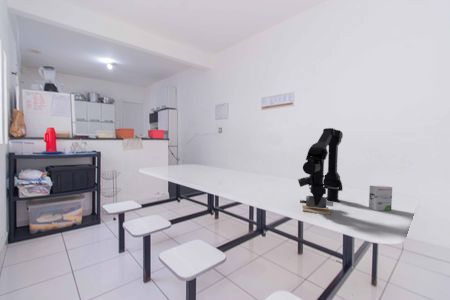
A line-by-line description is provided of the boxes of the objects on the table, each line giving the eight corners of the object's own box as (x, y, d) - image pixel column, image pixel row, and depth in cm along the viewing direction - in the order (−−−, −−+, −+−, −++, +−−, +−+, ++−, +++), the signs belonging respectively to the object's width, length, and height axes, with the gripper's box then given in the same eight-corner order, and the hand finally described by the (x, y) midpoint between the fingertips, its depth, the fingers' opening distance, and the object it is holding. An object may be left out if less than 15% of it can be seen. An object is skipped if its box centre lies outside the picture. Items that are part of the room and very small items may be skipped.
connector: (299, 203, 108) (300, 194, 108) (331, 206, 103) (332, 197, 103) (300, 205, 104) (300, 196, 104) (333, 209, 99) (333, 199, 99)
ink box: (383, 207, 110) (384, 184, 110) (392, 210, 105) (393, 186, 105) (368, 207, 109) (369, 184, 109) (375, 210, 104) (376, 186, 104)
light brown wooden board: (302, 205, 110) (302, 204, 110) (327, 208, 106) (327, 207, 106) (302, 211, 101) (302, 210, 101) (330, 214, 97) (330, 213, 97)
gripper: (299, 169, 114) (298, 197, 115) (299, 173, 97) (298, 207, 97) (321, 170, 111) (320, 200, 111) (326, 175, 93) (325, 210, 94)
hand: (315, 204), depth 104 cm, fingers closed on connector, 4 cm apart
